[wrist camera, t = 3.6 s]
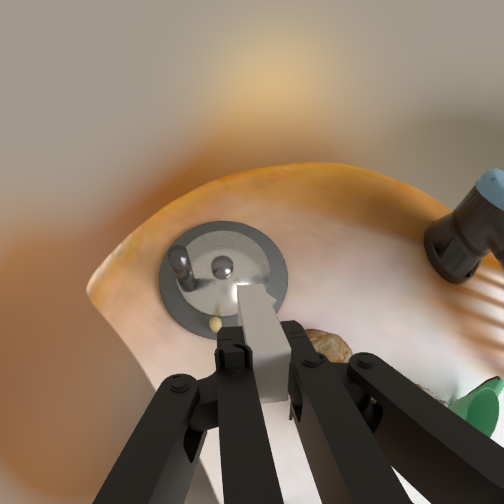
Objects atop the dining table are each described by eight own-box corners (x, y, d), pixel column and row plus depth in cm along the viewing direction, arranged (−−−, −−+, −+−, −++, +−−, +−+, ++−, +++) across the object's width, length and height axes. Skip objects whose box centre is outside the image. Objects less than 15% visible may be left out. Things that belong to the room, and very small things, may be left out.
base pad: (215, 206, 49) (214, 191, 46) (309, 267, 44) (316, 255, 41) (136, 285, 40) (128, 274, 37) (235, 367, 35) (235, 364, 32)
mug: (435, 457, 27) (474, 460, 18) (416, 421, 31) (456, 419, 22) (479, 402, 31) (515, 394, 22) (462, 367, 35) (499, 354, 27)
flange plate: (217, 220, 46) (214, 177, 37) (296, 273, 42) (313, 237, 33) (159, 279, 40) (140, 244, 31) (242, 345, 36) (245, 327, 27)
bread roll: (339, 352, 41) (358, 321, 36) (342, 408, 32) (368, 381, 28) (280, 345, 41) (292, 311, 37) (275, 402, 33) (289, 374, 28)
